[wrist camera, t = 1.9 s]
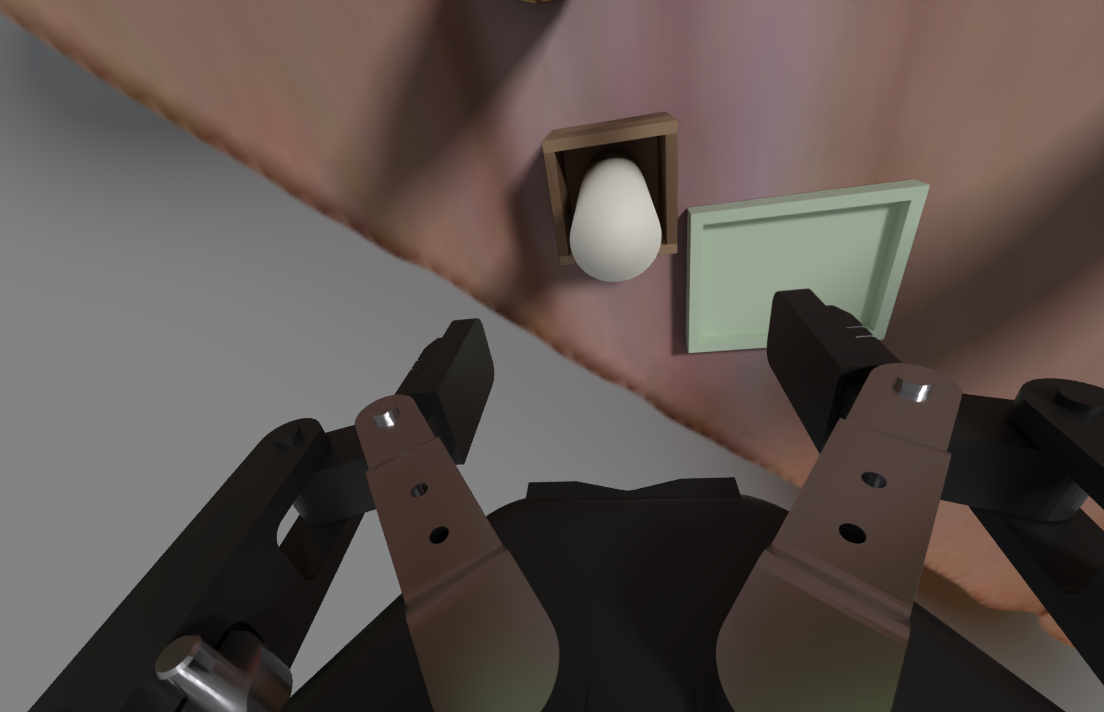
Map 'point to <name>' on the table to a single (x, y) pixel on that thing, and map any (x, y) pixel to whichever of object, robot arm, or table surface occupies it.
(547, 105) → the table surface
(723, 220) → the tray
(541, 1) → the sauce bottle
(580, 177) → the pen cup
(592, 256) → the dowel
